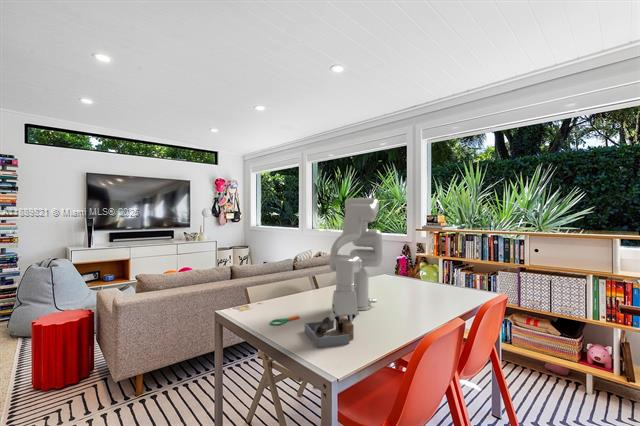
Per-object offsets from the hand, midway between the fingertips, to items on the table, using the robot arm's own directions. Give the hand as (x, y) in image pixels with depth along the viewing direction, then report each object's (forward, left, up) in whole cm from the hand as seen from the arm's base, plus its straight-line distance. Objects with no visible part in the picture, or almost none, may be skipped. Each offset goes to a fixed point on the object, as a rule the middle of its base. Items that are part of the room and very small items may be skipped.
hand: (344, 330), depth 131 cm
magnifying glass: (+20, -23, -2) cm, 31 cm away
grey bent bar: (+8, 0, -2) cm, 8 cm away
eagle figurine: (+8, -3, -2) cm, 9 cm away
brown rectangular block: (0, 0, -2) cm, 2 cm away
